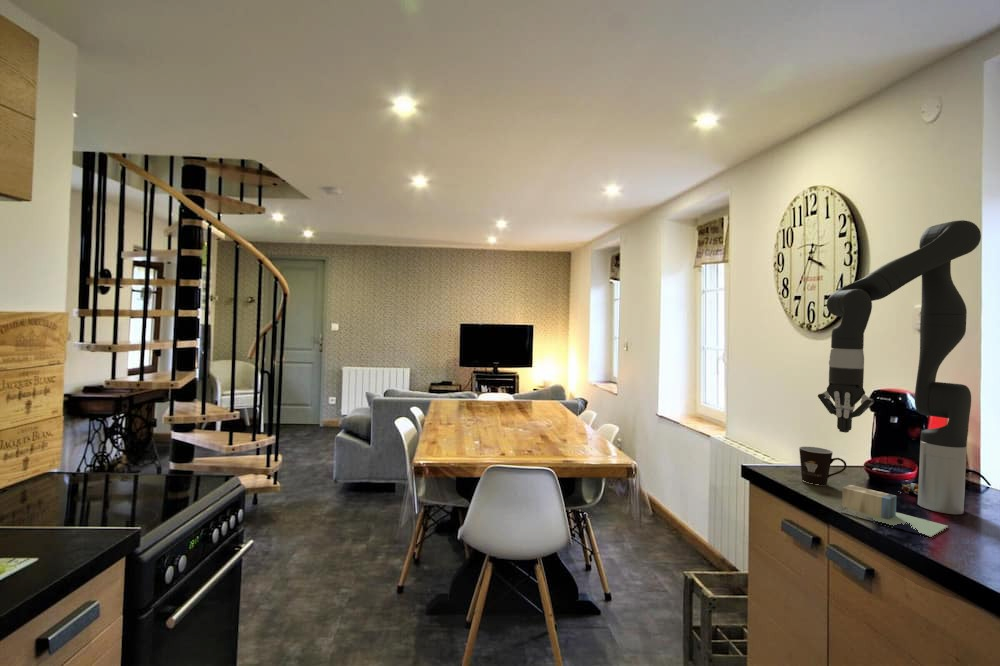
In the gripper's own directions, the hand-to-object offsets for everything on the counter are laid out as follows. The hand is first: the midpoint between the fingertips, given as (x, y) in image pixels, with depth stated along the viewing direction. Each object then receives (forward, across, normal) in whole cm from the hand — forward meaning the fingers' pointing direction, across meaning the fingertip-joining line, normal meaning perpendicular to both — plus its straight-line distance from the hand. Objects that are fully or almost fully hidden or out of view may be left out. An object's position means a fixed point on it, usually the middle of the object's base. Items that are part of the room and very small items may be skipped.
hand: (844, 431), depth 134 cm
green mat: (+20, -11, 0) cm, 23 cm away
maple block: (+16, -1, 0) cm, 17 cm away
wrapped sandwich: (+21, -9, -32) cm, 39 cm away
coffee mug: (+20, +12, -16) cm, 28 cm away
